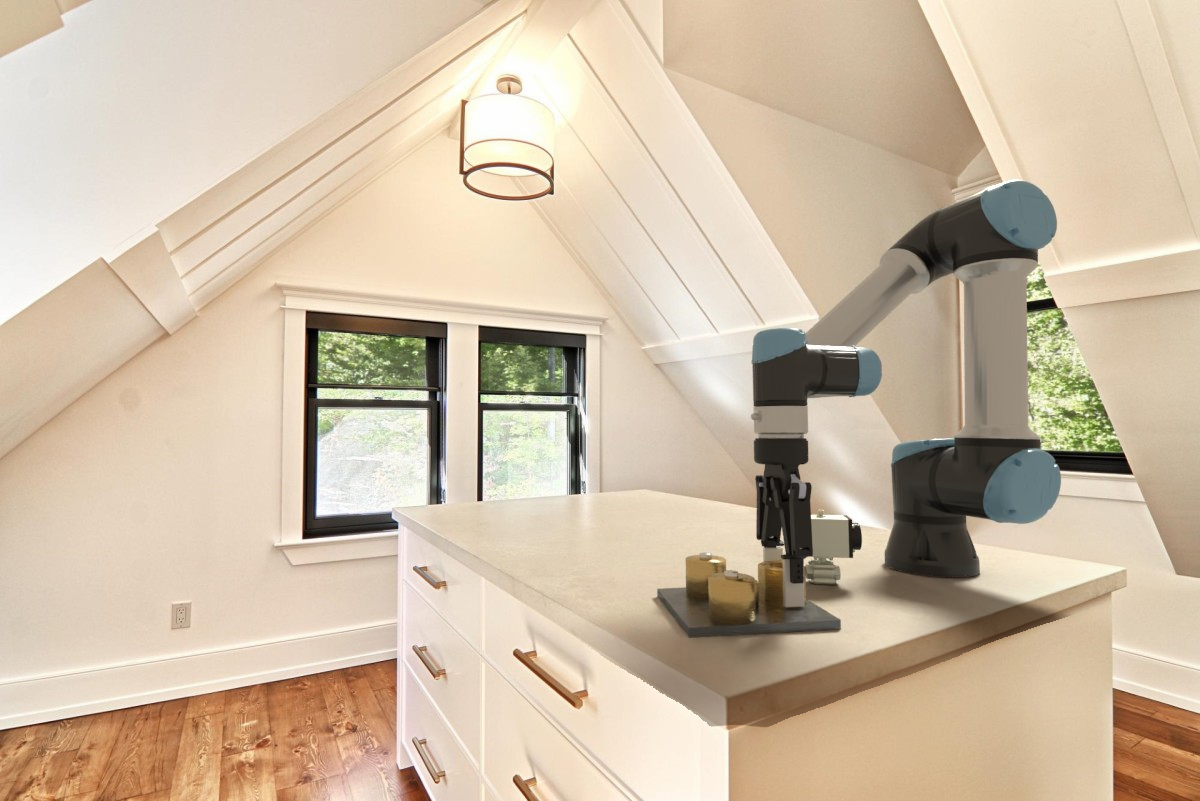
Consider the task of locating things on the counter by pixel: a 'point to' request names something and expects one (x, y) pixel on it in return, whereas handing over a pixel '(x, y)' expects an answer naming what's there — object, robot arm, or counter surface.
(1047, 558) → the counter surface
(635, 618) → the counter surface
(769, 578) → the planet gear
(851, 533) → the pneumatic valve
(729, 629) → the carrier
